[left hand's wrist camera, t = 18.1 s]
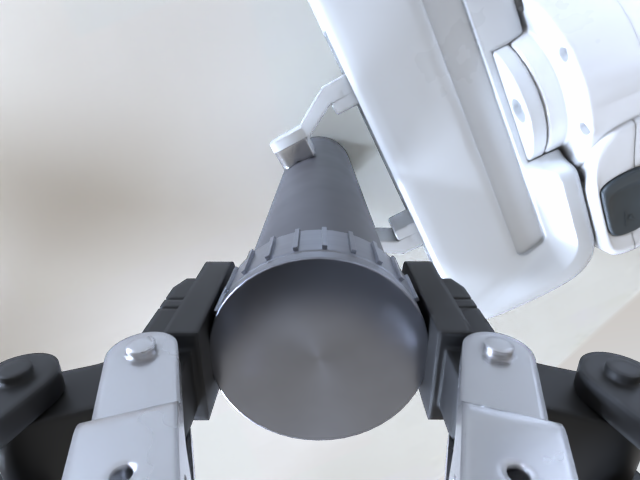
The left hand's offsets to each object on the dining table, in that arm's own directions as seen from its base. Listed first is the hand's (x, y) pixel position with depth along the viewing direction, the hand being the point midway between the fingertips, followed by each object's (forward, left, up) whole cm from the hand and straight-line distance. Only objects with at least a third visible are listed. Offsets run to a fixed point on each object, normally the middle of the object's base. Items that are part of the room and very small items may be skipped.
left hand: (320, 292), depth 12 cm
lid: (0, 0, +3) cm, 3 cm away
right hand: (-1, +1, -10) cm, 10 cm away
